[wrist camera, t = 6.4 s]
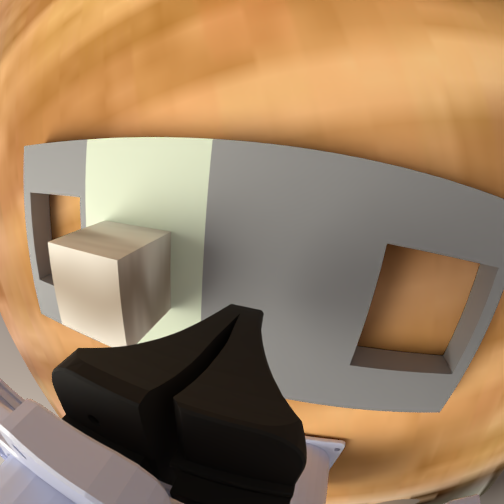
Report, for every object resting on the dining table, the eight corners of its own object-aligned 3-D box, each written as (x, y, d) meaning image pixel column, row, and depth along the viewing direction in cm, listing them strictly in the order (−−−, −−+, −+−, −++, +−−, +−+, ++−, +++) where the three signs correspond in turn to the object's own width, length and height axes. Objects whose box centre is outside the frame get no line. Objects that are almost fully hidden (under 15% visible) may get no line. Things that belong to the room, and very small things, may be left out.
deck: (433, 393, 16) (439, 412, 14) (55, 303, 22) (41, 313, 20) (507, 201, 11) (525, 208, 10) (43, 144, 17) (24, 146, 15)
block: (170, 308, 16) (127, 353, 12) (109, 290, 17) (62, 323, 12) (170, 231, 14) (117, 260, 10) (104, 220, 15) (47, 242, 11)
